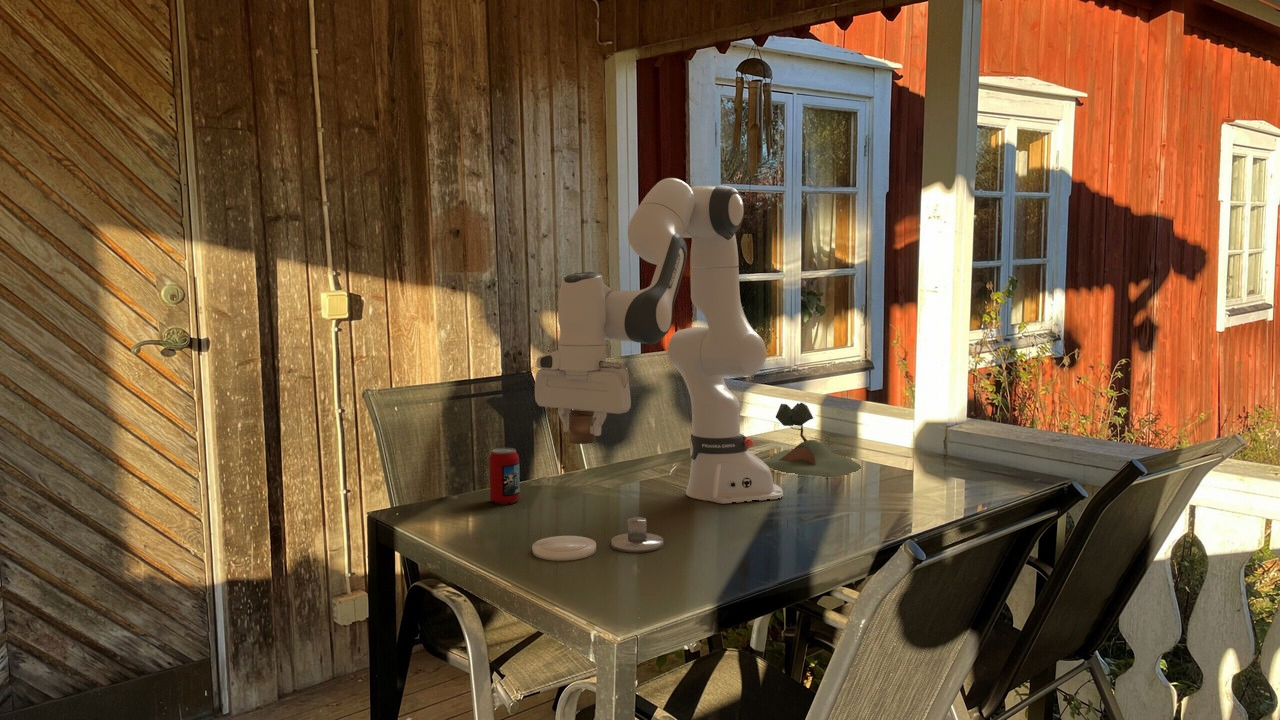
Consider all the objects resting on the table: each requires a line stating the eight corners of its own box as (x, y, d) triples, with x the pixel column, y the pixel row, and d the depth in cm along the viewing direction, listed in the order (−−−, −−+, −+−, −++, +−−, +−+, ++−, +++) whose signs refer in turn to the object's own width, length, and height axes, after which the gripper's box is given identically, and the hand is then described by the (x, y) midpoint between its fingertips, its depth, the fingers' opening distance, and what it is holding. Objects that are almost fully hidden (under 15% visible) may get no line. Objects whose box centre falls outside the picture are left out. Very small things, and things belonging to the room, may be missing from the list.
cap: (599, 441, 179) (599, 410, 178) (585, 444, 175) (585, 413, 174) (578, 438, 181) (578, 408, 181) (563, 442, 177) (564, 411, 177)
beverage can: (514, 505, 214) (513, 453, 213) (486, 504, 216) (484, 452, 215) (524, 498, 221) (522, 447, 220) (496, 497, 222) (494, 446, 221)
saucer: (594, 540, 186) (594, 533, 186) (597, 559, 175) (597, 551, 174) (533, 542, 185) (532, 535, 185) (531, 561, 173) (531, 554, 173)
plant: (788, 450, 278) (788, 389, 276) (893, 467, 252) (894, 400, 250) (721, 464, 258) (721, 399, 256) (828, 485, 233) (829, 413, 231)
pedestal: (660, 536, 189) (659, 511, 188) (666, 551, 179) (665, 525, 178) (609, 538, 188) (609, 513, 187) (613, 553, 178) (612, 527, 177)
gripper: (637, 361, 174) (637, 436, 175) (550, 356, 185) (551, 426, 186) (617, 364, 168) (617, 441, 170) (529, 358, 180) (529, 431, 181)
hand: (582, 433), depth 178 cm, fingers closed on cap, 5 cm apart
